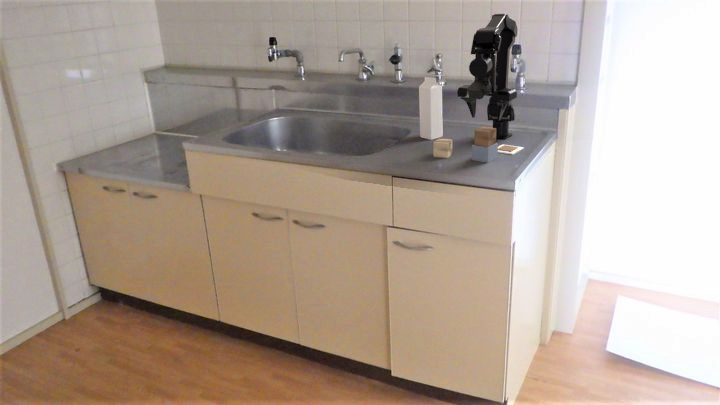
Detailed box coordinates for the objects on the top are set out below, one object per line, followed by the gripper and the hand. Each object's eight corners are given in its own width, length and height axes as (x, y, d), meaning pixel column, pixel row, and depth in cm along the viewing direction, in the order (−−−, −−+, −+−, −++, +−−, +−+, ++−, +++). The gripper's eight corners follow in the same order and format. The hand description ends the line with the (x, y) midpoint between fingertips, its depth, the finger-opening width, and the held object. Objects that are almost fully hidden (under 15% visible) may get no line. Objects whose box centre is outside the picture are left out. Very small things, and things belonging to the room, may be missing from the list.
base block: (481, 155, 199) (481, 140, 197) (497, 157, 195) (497, 143, 194) (471, 160, 195) (471, 145, 193) (488, 162, 191) (488, 147, 189)
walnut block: (482, 141, 197) (482, 126, 195) (496, 143, 194) (496, 128, 192) (474, 145, 193) (474, 130, 191) (488, 147, 190) (488, 132, 188)
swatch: (502, 145, 208) (502, 143, 207) (523, 148, 203) (524, 146, 202) (491, 151, 202) (491, 149, 202) (512, 154, 197) (513, 152, 197)
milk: (431, 140, 220) (429, 79, 211) (419, 137, 224) (418, 78, 216) (443, 136, 223) (442, 77, 215) (431, 133, 227) (430, 75, 219)
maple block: (438, 152, 205) (438, 138, 203) (452, 153, 203) (452, 139, 201) (433, 157, 201) (433, 142, 199) (447, 158, 199) (447, 143, 197)
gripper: (447, 73, 189) (448, 121, 195) (501, 77, 178) (500, 128, 184) (465, 67, 197) (465, 113, 203) (518, 70, 186) (516, 119, 192)
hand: (486, 118), depth 195 cm, fingers open, 9 cm apart
